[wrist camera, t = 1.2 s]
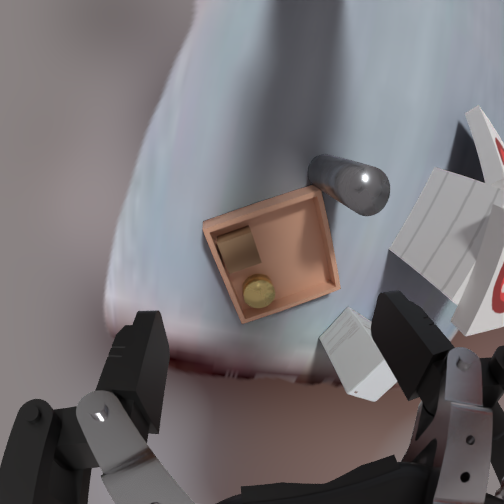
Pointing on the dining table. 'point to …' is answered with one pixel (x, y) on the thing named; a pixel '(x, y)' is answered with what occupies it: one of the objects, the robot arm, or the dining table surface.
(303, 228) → the tray
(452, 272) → the pizza boxes
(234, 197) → the dining table surface
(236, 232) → the walnut block
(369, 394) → the supplement box
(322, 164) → the disc
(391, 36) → the dining table surface
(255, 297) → the brass disc
